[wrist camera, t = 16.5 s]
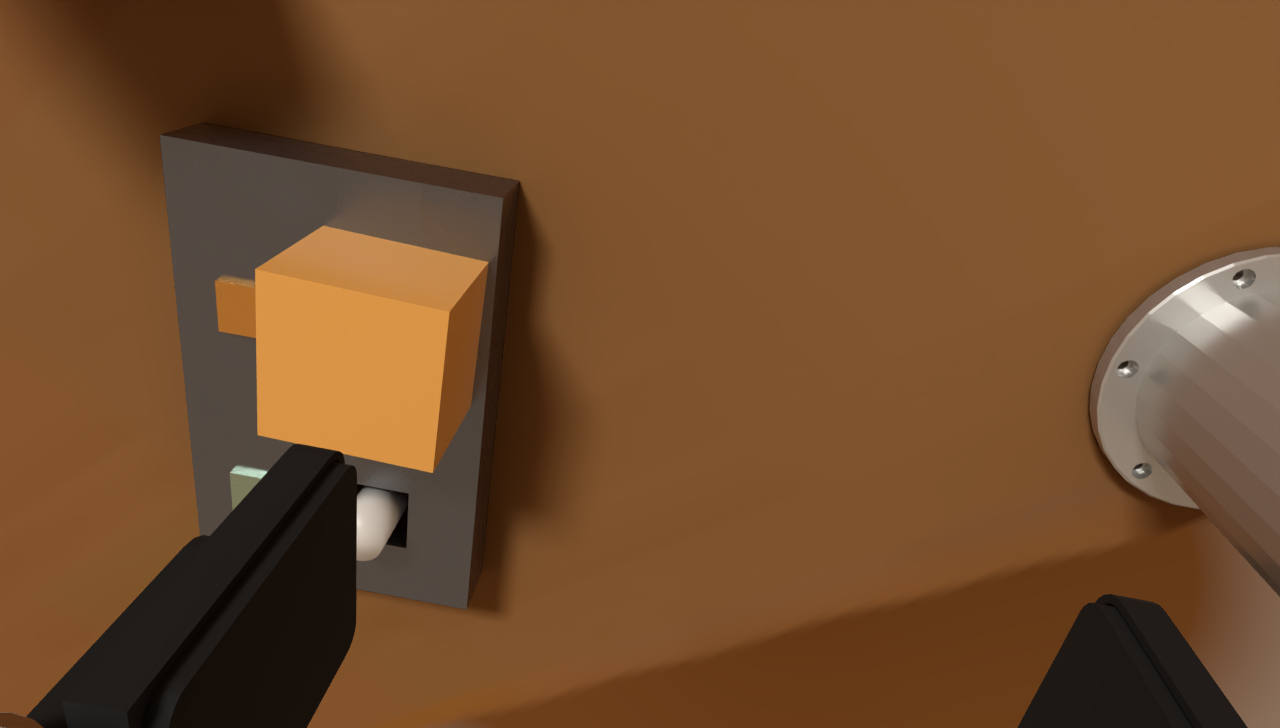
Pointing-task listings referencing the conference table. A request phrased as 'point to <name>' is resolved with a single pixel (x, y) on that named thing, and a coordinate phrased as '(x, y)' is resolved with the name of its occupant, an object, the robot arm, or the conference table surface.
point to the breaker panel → (226, 324)
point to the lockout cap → (367, 346)
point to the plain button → (377, 519)
